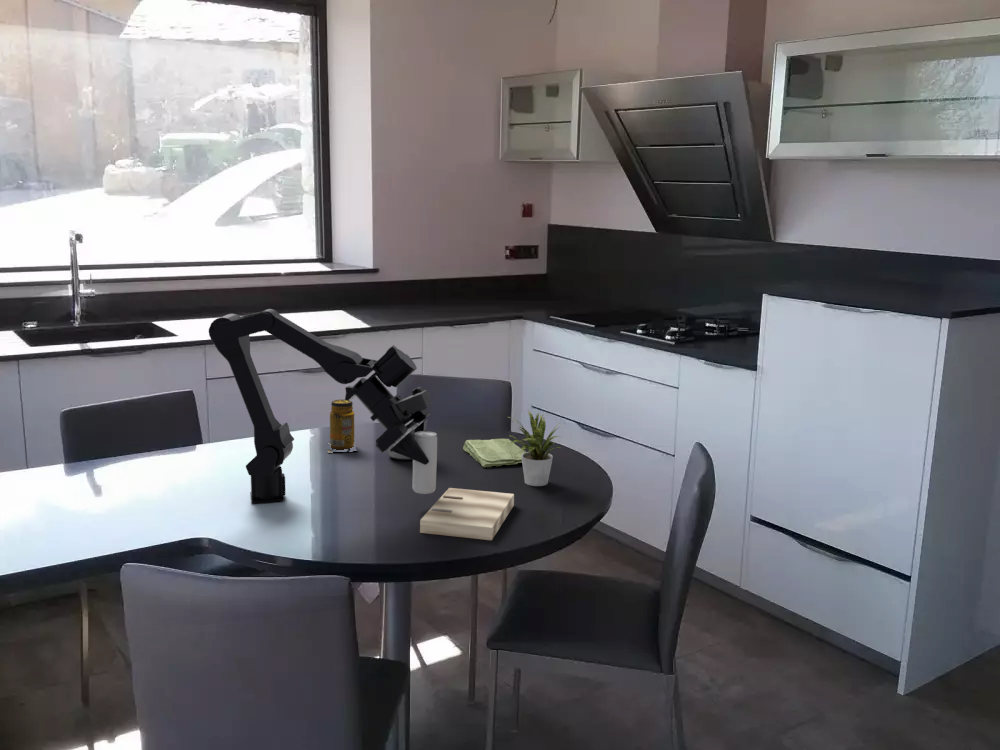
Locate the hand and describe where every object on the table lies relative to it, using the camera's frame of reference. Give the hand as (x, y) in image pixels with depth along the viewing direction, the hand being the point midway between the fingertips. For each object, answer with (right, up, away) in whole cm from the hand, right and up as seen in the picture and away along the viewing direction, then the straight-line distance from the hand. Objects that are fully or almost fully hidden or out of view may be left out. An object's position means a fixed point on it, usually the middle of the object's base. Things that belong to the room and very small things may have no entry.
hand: (431, 459), depth 182 cm
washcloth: (+13, -4, +39) cm, 42 cm away
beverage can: (-2, -7, +1) cm, 7 cm away
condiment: (-26, -2, +43) cm, 51 cm away
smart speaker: (-9, -3, +37) cm, 38 cm away
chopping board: (+8, -11, -3) cm, 14 cm away
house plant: (+21, -7, +21) cm, 31 cm away
